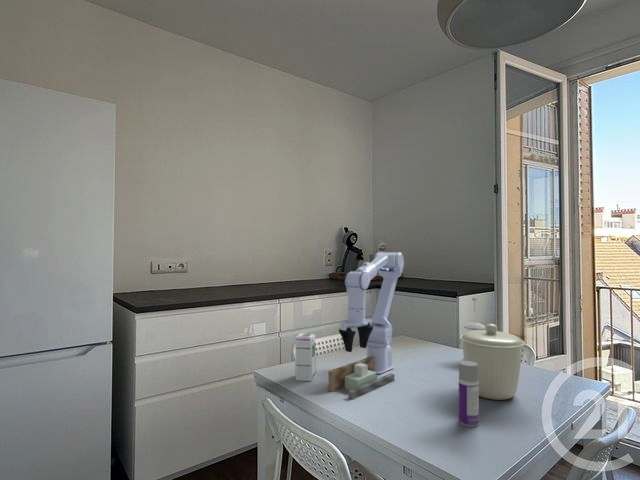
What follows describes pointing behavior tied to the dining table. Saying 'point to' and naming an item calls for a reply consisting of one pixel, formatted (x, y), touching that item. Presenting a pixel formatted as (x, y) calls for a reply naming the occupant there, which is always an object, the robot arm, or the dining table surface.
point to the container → (468, 394)
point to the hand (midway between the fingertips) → (356, 349)
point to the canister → (494, 360)
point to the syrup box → (305, 357)
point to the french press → (474, 323)
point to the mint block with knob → (359, 376)
